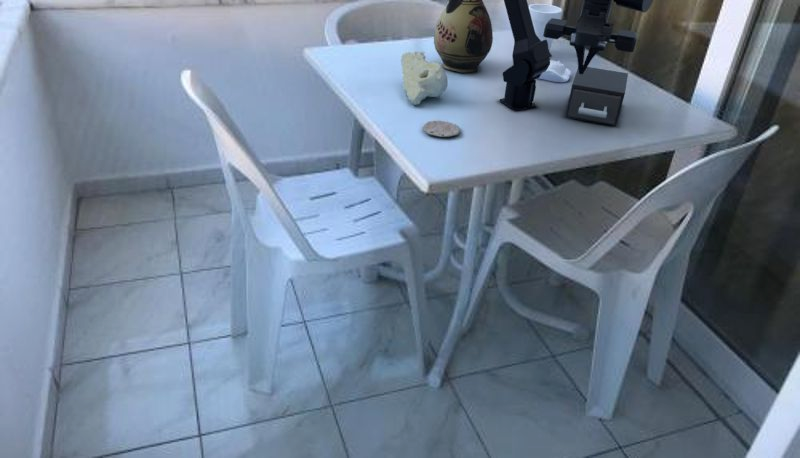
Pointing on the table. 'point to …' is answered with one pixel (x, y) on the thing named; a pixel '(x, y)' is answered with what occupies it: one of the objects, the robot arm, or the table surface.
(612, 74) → the mini drawer cabinet
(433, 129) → the flatbread
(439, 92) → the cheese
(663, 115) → the table surface
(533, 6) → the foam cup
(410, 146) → the table surface
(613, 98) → the drawer
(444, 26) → the ceramic jug
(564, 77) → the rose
